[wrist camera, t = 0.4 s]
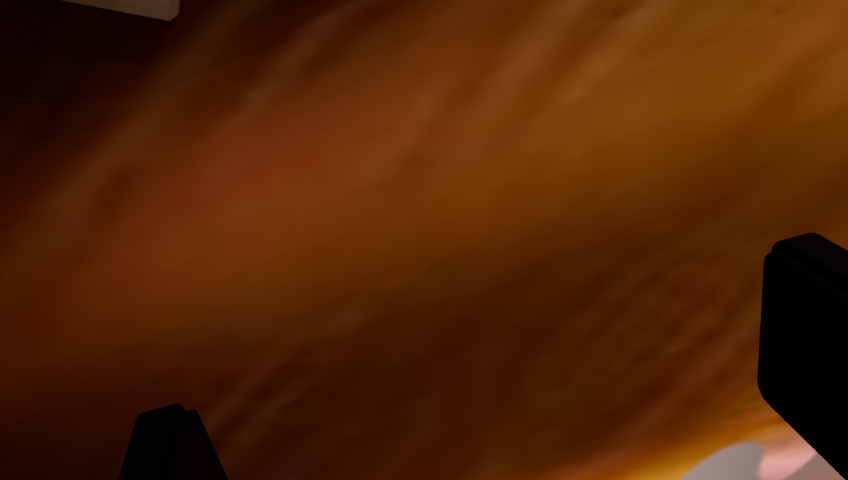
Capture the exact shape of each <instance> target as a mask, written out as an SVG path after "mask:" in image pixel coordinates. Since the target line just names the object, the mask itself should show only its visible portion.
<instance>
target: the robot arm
mask: <svg viewBox="0 0 848 480" xmlns="http://www.w3.org/2000/svg"><path fill="white" fill-rule="evenodd" d="M757 381H758V387H759V390H760V393H761V395H762V396H763V398H764V400H765V401H766V402H767V403H768V404H769V405H770V406H771V407H772V408H773V409H774V410H775V411H776V412H777V413H778V414H779V415H780V416H781V417H782V418H783V419H784V420H785V421H786V422H787V423H788V424H789V425H790V426H791V427H792V428H793V429H794V430H795V431H796V432H797V433H798V434H799V435H800V436H801V437H802V438H803V439H804V440H805V441H806V442H807V443H808V444H809V445H810V446H811V447H812V448H814V449H815V450H816V451H817V452H818V453H819V454H820V455H821V456H822V457H823V458H824V459H825V460H826V461H827V462H828V463H829V464H830V465H831V466H832V467H833V468H834V469H835V470H836V471H837V472H838V473H839V474H840V475H841V476H842V477H843V478H844V479H845V480H848V251H847V250H845V249H844V248H842V247H840V246H838V245H837V244H835V243H833V242H831V241H830V240H828V239H826V238H824V237H823V236H821V235H819V234H816V233H806V234H803V235H799V236H795V237H792V238H788V239H784V240H781V241H778V242H776V243H775V244H774V245H773V247H772V250H771V252H770V253H768V254H767V255H766V257H765V260H764V270H763V288H762V306H761V324H760V342H759V359H758V377H757ZM118 480H228V478H227V476H226V474H225V471H224V469H223V467H222V465H221V462H220V460H219V458H218V456H217V454H216V451H215V449H214V447H213V445H212V442H211V440H210V438H209V436H208V433H207V431H206V429H205V427H204V425H203V422H202V420H201V418H200V416H199V414H198V412H197V411H196V410H195V409H191V410H188V411H185V409H184V408H183V407H182V406H181V404H173V405H169V406H166V407H162V408H158V409H155V410H151V411H147V412H143V413H141V414H140V415H139V416H138V418H137V420H136V423H135V426H134V429H133V432H132V436H131V439H130V442H129V446H128V449H127V452H126V455H125V459H124V462H123V465H122V468H121V472H120V475H119V478H118Z"/></svg>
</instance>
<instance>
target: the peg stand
mask: <svg viewBox="0 0 848 480" xmlns="http://www.w3.org/2000/svg"><path fill="white" fill-rule="evenodd" d="M62 1H68V2H73V3H78V4H83V5H89V6H94V7H99V8H104V9H109V10H115V11H120V12H125V13H130V14H136V15H141V16H146V17H151V18H156V19H162V20H167V21H171V20H172V19H173V18H174V17H176V16H177V15H178V14H179V10H180V0H62Z"/></svg>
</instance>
